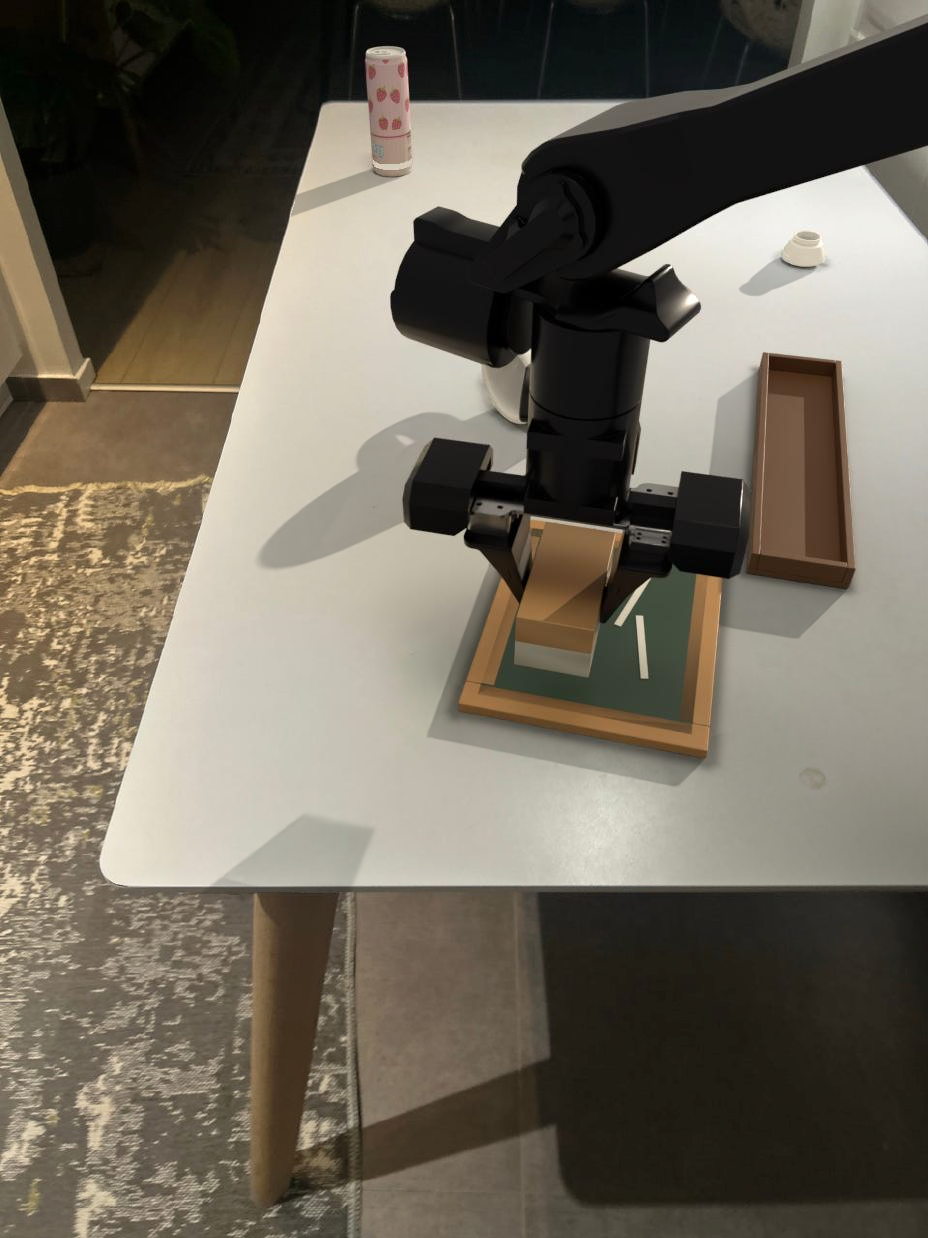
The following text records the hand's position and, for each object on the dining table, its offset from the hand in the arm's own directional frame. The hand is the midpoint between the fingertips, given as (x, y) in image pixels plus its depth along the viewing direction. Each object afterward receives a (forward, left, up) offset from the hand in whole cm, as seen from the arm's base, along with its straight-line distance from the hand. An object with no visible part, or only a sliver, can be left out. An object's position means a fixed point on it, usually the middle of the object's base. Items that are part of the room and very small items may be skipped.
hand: (565, 612), depth 57 cm
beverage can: (+41, -91, -7) cm, 100 cm away
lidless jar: (-16, -73, -7) cm, 75 cm away
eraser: (0, 0, -1) cm, 1 cm away
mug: (+9, -36, -7) cm, 38 cm away
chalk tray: (-15, -30, -7) cm, 34 cm away
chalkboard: (-2, -6, -7) cm, 9 cm away
